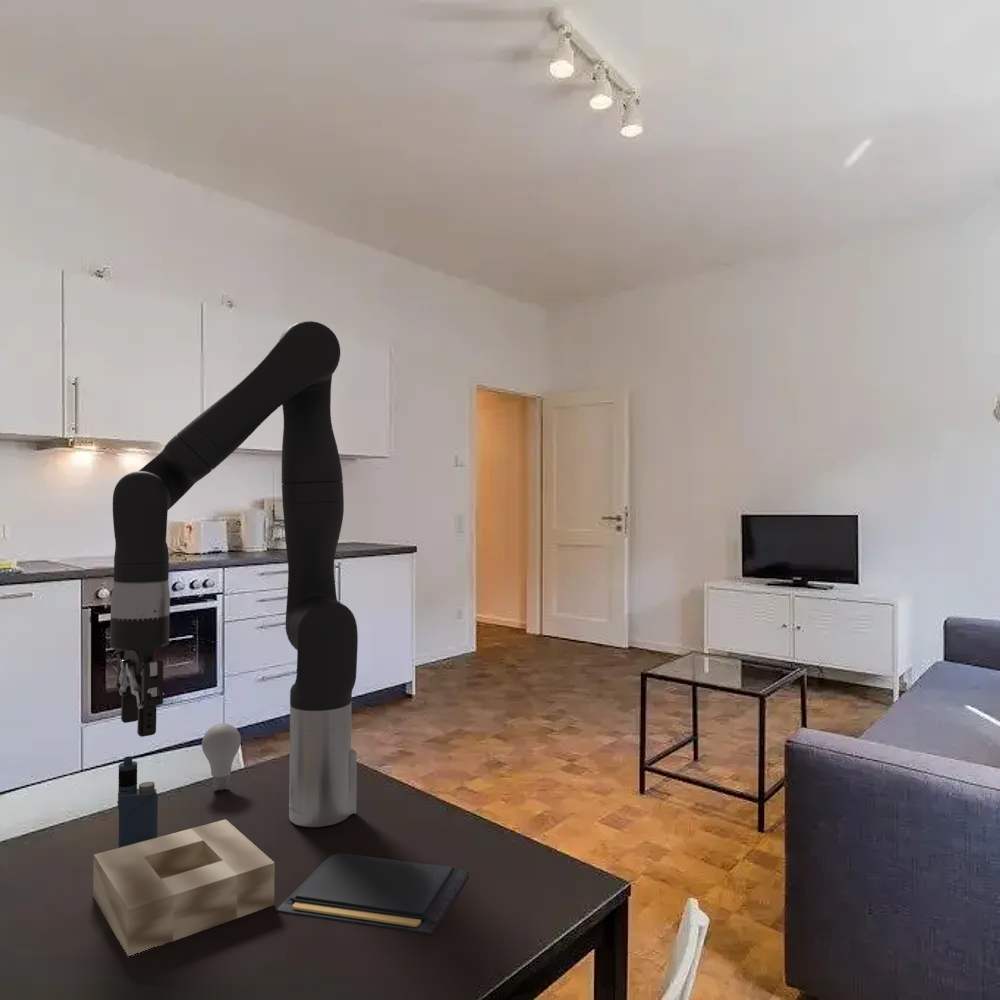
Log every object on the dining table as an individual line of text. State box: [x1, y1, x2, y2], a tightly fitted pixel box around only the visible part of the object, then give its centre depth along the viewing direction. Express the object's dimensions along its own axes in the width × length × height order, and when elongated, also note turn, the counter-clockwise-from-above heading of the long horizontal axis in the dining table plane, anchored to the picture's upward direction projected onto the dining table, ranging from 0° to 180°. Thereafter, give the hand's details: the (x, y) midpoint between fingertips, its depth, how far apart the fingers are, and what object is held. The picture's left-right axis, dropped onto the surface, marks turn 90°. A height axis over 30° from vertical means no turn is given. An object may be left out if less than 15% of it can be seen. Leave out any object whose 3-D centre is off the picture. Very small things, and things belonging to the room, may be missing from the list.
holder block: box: [92, 819, 276, 957], centre depth 89 cm, size 16×16×5 cm
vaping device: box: [116, 755, 159, 847], centre depth 104 cm, size 3×5×12 cm, turn 95°
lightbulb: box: [201, 723, 242, 791], centre depth 123 cm, size 6×6×11 cm
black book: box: [274, 852, 469, 936], centre depth 91 cm, size 20×2×15 cm
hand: (137, 728), depth 104 cm, fingers open, 8 cm apart
